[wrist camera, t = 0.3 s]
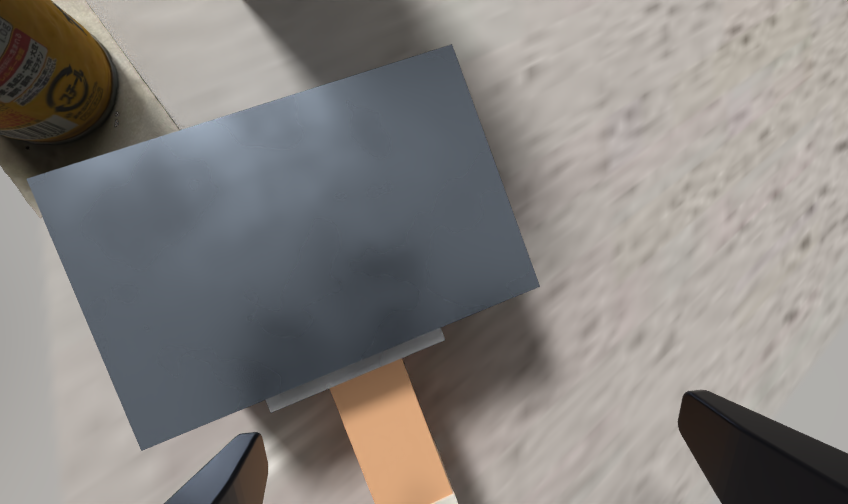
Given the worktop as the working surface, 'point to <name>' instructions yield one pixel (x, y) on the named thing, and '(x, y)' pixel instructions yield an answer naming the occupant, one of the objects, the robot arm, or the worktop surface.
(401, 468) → the tan banded carton
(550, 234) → the worktop surface
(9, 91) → the condiment
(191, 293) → the gray block
